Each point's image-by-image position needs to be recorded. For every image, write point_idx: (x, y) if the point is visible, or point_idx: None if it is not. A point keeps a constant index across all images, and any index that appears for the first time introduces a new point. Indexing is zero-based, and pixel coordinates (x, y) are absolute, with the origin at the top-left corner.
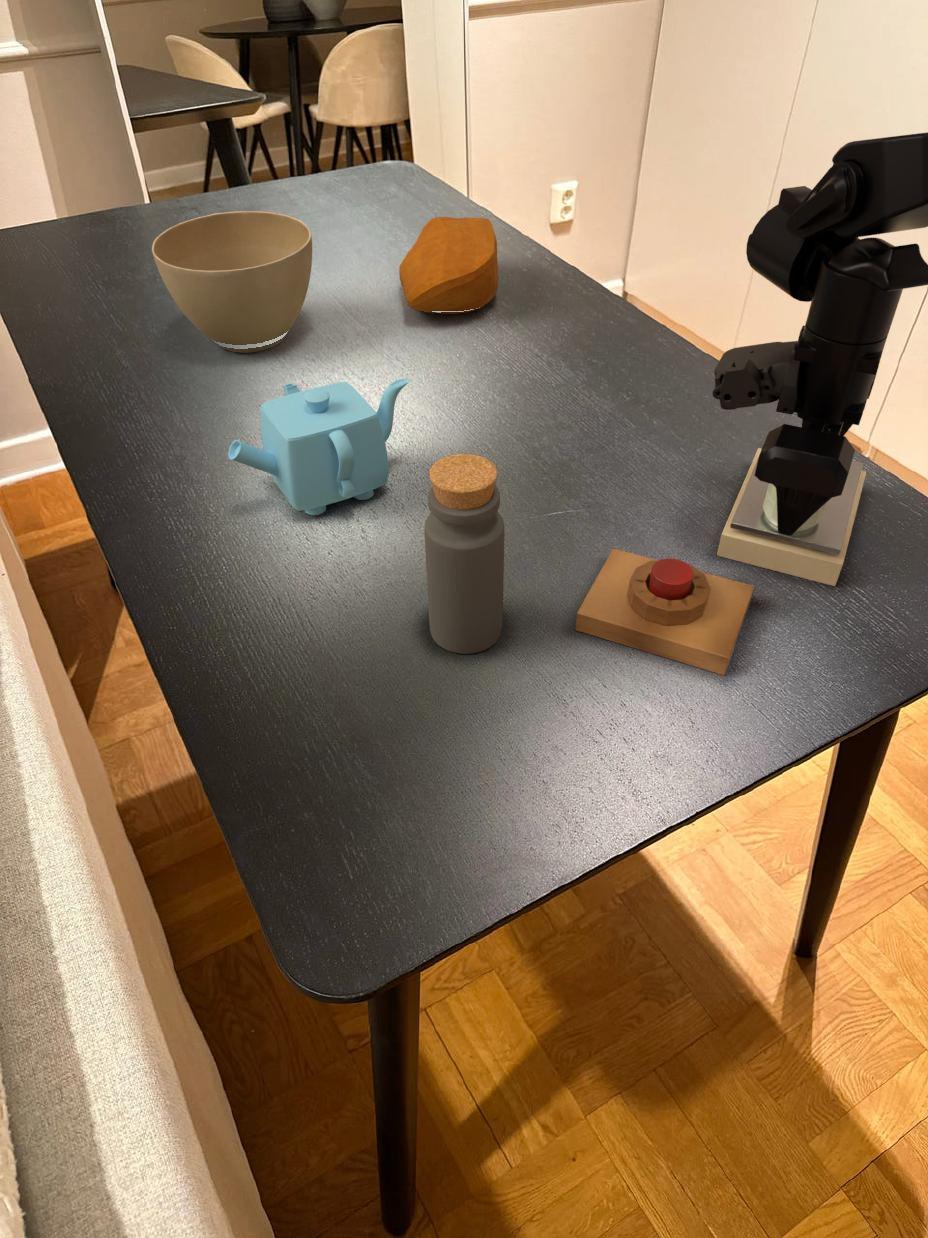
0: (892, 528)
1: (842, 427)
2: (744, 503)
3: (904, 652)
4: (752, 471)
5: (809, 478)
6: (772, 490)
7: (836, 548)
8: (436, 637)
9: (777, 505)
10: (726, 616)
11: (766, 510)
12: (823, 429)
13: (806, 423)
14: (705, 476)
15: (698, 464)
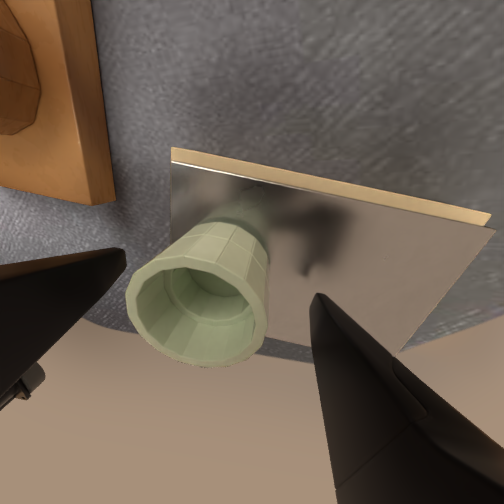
0: (299, 344)
1: (341, 487)
2: (241, 186)
3: (125, 324)
4: (393, 202)
5: None
6: (165, 249)
7: None
8: None
9: (1, 266)
10: (10, 167)
11: (192, 228)
12: (356, 435)
13: (390, 417)
14: (434, 108)
15: (489, 85)
